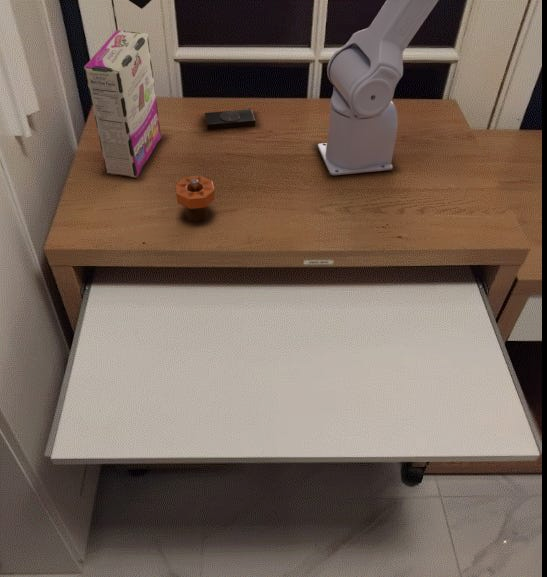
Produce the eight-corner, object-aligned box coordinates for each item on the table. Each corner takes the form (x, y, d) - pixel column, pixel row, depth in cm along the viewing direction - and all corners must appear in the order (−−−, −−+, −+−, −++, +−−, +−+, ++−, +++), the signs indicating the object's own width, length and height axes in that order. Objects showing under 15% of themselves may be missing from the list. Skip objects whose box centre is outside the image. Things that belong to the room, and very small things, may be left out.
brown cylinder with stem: (205, 207, 86) (203, 173, 82) (208, 220, 84) (206, 185, 80) (185, 209, 86) (182, 175, 82) (187, 222, 84) (184, 188, 80)
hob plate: (251, 114, 104) (251, 108, 103) (255, 125, 101) (255, 119, 100) (204, 118, 102) (204, 112, 102) (207, 129, 100) (207, 123, 99)
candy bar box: (131, 133, 99) (115, 28, 87) (162, 138, 98) (150, 32, 86) (103, 174, 91) (81, 65, 79) (136, 179, 90) (120, 69, 79)
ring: (211, 184, 85) (210, 174, 84) (216, 206, 82) (215, 196, 80) (175, 188, 84) (174, 178, 83) (178, 210, 81) (177, 200, 80)
